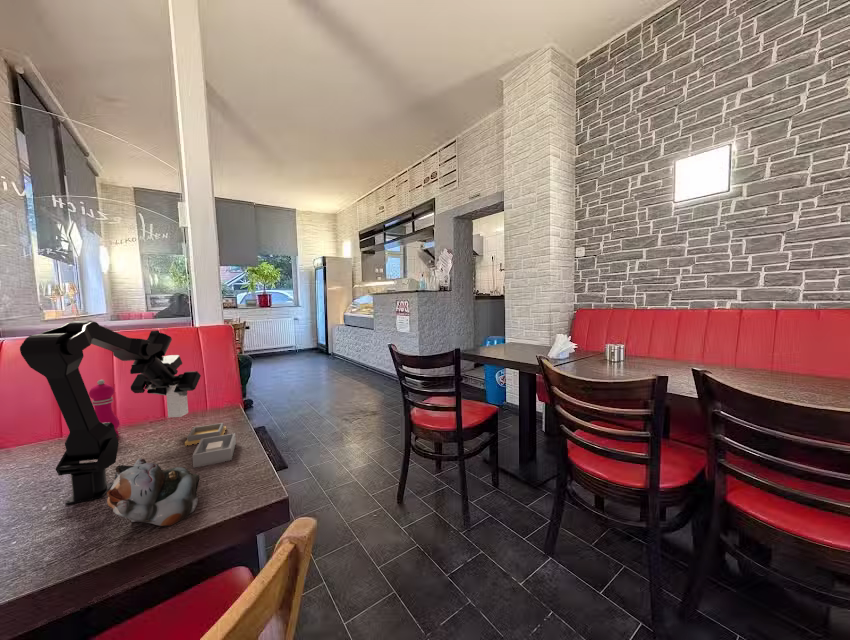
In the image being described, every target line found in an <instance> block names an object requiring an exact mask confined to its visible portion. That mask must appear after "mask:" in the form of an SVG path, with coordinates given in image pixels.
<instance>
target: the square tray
mask: <svg viewBox="0 0 850 640" xmlns="http://www.w3.org/2000/svg"><path fill="white" fill-rule="evenodd" d="M225 430H227V426H224V422H219V423H213V424H208V425H207V424H206V425H201V426H194V427H192V429H191V431H190V432H189V434H188V435H187V439H186V440H185V441H184V446H185V447H187V445H188V446H192V444H194V445H198V444H197V443H199V442H200V440H201V439H203V438H209V437H215V436H221V435H225V434H224V433H226V431H225Z"/></svg>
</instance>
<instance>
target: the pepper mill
mask: <svg viewBox="0 0 850 640" xmlns="http://www.w3.org/2000/svg"><path fill="white" fill-rule="evenodd" d="M105 382H106V381H105V380H104V379H99V380H97V381H96V383H97V384H96V385H94V386H92V387H91V388H90V389H89V392H88V394H89V397H90V399H91V402H92V405H93V407H94V410H95V412H96V415H97V417H98V420H99V421H100V422H101V423H110V422H111V423H112V424H113V425H114V428H115V431H116V433H117V434H118V436H116V437H117V438H118V437H119V430H118V428H119V427H120V424H121V423H120V419H119V418H118V416H117V415H116V414H115V413H114V411H113V409H112V403H113V402H114V398H113V395H114V393H115V388H114V386H112V385H111V384H108V383H105Z"/></svg>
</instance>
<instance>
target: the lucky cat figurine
mask: <svg viewBox="0 0 850 640" xmlns="http://www.w3.org/2000/svg"><path fill="white" fill-rule="evenodd" d="M114 469H115V476H114V480H113V483H114V484H113V485H112V487H111V488H110V489H109V490H108V491H107V493H106V496H107V500H106V502H107V506H109V507H110V508H112V511H113V513H114V514H115V515H116V516H119V517H122V518H125V519H128V520H130V522H131V523H134V522H140V523H145V524H146V523H147V524H152V525H156V526H161V527H172V525H175V524H177V523H178V522H180V521H182V520H185V519H186V518H187V517H188V516H189V515H190V514H192V513H194V511H195V510H196V507H197V505H198V502H199V501H198V500H199V497H198V496H197V495H198V494H197V492H198V488H199V482H200V481H201V480H200V478H201V477H200V475H201V474H197V473H192V472H191V471H190V470H189V469H188V468H186V467H183V466H176V467H175V466H174V467H172V468H168V469H165V470H164V469H162V467H161V466H159V464H157V463H156V462H147V461H146V459H144V458H139V459H136V461H135V463H134V464H133V465H126V464H125V465H123V464H121V465H117V466H116V467H115V468H114Z"/></svg>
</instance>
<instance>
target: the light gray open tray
mask: <svg viewBox="0 0 850 640" xmlns="http://www.w3.org/2000/svg"><path fill="white" fill-rule="evenodd" d="M235 445H237V438H236V432H234V433H233V432H232V433H228V434H224V435H221V436H215V437H209V438H203V439H201V440H200V442H199V444H197V446H196V447H195V449H194V451H193V454H192V467H193V468H199V467H204V466H209V465H216V464H220V463H221V464H222V463H225V461H226V462H230V460H231V461H232V460H233V457H234V453H235V450H236V449H235V448H236V446H235ZM234 449H235V450H234ZM232 456H233V457H232Z"/></svg>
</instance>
